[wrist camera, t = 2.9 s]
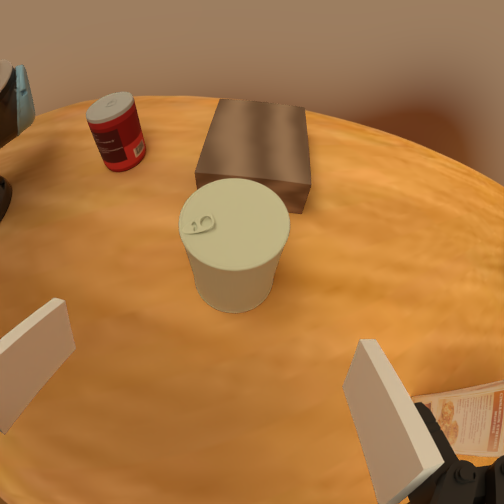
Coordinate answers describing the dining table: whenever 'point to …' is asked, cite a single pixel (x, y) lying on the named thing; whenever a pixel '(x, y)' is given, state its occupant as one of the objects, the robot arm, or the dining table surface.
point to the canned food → (117, 131)
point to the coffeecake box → (470, 418)
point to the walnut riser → (259, 149)
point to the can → (234, 241)
